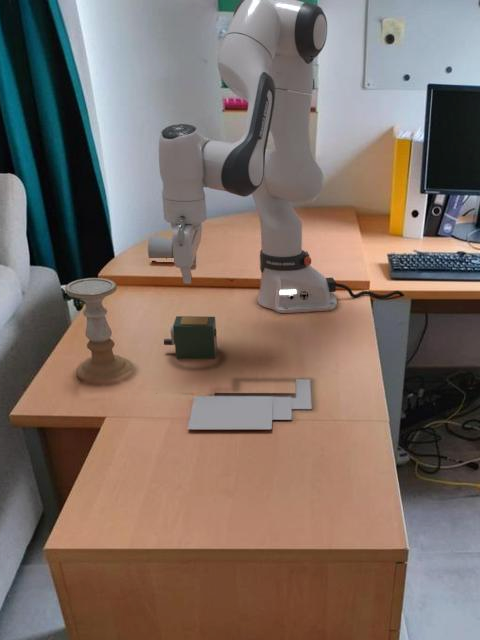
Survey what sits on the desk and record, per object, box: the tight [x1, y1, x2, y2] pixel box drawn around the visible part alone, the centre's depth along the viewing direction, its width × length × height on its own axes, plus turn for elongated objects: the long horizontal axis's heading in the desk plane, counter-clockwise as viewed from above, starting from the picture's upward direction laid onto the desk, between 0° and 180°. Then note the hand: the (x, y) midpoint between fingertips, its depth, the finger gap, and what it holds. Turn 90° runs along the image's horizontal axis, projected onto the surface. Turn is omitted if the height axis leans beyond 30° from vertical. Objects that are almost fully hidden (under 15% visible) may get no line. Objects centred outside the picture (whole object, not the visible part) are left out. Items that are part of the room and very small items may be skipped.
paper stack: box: [186, 378, 313, 431], centre depth 153 cm, size 23×25×1 cm
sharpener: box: [163, 315, 218, 360], centre depth 168 cm, size 12×6×8 cm, turn 94°
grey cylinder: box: [147, 236, 174, 259], centre depth 227 cm, size 11×8×8 cm
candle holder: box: [64, 277, 133, 382], centre depth 157 cm, size 12×12×20 cm
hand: (190, 275), depth 160 cm, fingers open, 8 cm apart
